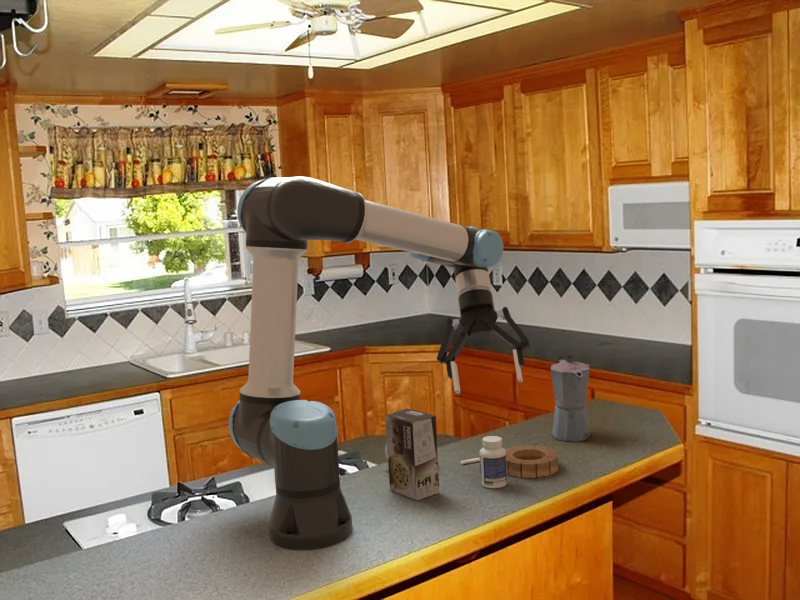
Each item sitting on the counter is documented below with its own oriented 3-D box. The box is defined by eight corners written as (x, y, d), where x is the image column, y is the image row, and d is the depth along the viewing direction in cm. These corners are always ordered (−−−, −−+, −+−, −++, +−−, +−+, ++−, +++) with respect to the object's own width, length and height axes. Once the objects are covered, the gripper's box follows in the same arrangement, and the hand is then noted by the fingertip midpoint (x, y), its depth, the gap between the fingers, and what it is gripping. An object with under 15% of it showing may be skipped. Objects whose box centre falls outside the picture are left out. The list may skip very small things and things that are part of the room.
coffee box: (441, 492, 167) (437, 415, 165) (416, 501, 163) (412, 422, 161) (412, 481, 174) (408, 407, 172) (388, 489, 170) (383, 413, 168)
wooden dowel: (462, 464, 183) (462, 461, 183) (460, 463, 183) (460, 460, 183) (526, 453, 188) (526, 450, 188) (525, 452, 189) (525, 449, 189)
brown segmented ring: (517, 481, 171) (517, 467, 171) (492, 464, 182) (491, 450, 182) (568, 471, 175) (568, 458, 175) (540, 455, 186) (540, 442, 186)
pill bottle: (512, 485, 169) (510, 439, 168) (491, 491, 167) (489, 444, 165) (496, 477, 174) (494, 432, 173) (475, 483, 171) (473, 438, 170)
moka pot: (564, 448, 190) (562, 362, 188) (538, 429, 205) (535, 350, 202) (602, 442, 193) (601, 358, 190) (573, 424, 207) (572, 346, 205)
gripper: (532, 288, 184) (549, 380, 176) (425, 310, 190) (436, 400, 182) (527, 276, 177) (544, 371, 169) (416, 299, 183) (427, 392, 175)
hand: (488, 386), depth 176 cm, fingers open, 13 cm apart
